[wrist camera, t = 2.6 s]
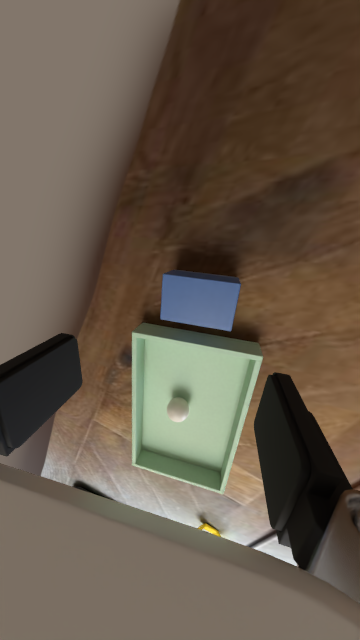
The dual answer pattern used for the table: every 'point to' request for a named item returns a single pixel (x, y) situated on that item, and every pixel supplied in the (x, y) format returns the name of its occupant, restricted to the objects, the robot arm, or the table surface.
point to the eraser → (199, 299)
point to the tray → (190, 402)
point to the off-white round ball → (178, 409)
